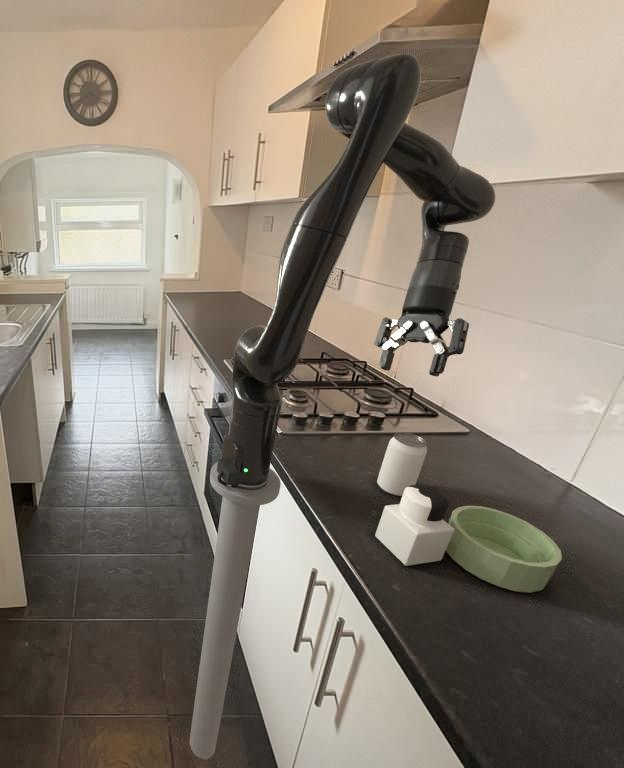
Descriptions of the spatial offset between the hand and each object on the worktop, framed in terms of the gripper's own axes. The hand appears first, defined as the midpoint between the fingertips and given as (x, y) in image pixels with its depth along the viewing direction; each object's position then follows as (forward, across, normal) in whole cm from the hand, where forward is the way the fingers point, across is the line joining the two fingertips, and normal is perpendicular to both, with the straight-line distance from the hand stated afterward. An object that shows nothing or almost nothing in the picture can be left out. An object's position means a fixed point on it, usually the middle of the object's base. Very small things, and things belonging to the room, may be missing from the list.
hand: (408, 372), depth 79 cm
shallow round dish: (+29, +16, +9) cm, 34 cm away
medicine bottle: (+31, +8, 0) cm, 32 cm away
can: (+23, -3, +13) cm, 27 cm away
